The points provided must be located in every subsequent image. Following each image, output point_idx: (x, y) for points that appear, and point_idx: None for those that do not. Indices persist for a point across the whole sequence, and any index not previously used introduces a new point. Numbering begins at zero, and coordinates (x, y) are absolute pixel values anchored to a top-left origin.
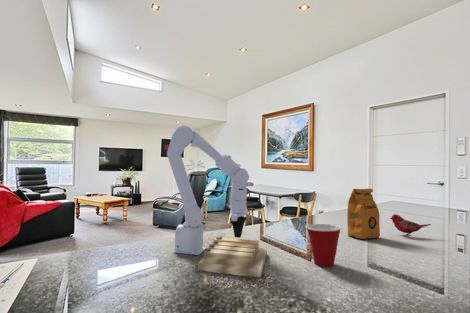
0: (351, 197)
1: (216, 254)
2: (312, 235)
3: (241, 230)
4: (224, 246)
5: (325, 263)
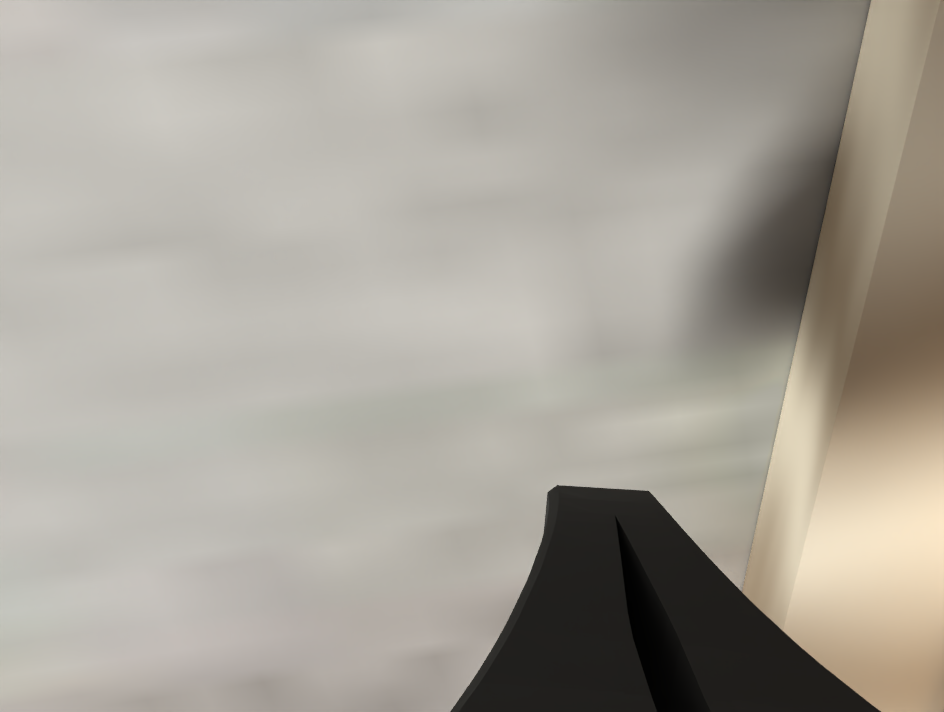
0: None
1: None
2: None
3: (753, 605)
4: None
5: None
